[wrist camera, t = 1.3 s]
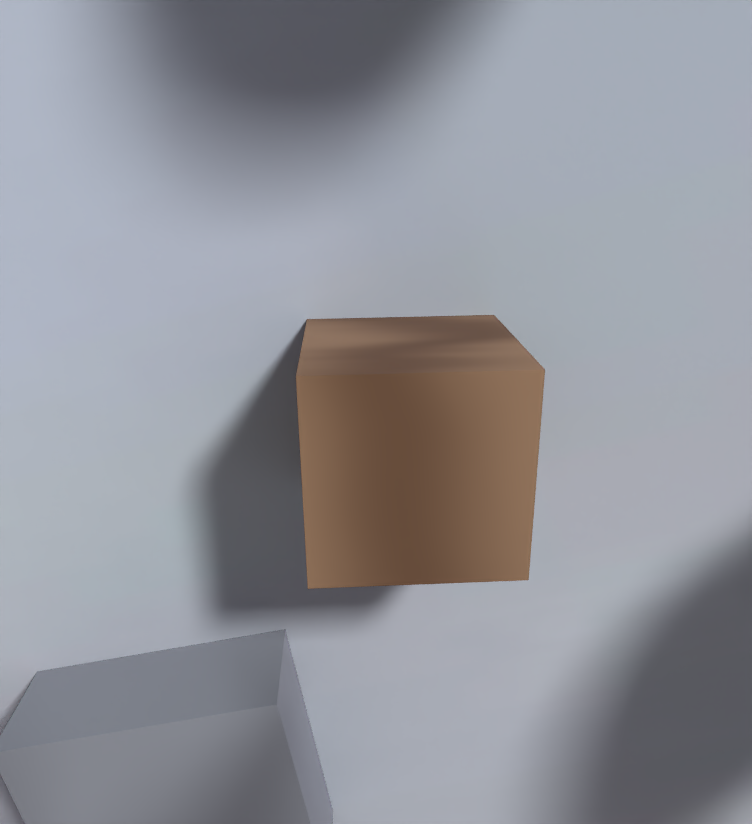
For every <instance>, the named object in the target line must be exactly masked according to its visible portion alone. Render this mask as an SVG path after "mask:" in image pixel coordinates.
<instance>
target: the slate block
mask: <svg viewBox="0 0 752 824" xmlns="http://www.w3.org/2000/svg"><path fill="white" fill-rule="evenodd" d="M0 775H1V777H2V779H3V781H4V783H5V785H6V787H7V789H8V791H9V793H10V795H11V797H12V799H13V801H14V803H15V805H16V807H17V809H18V811H19V813H20V815H21V817H22V819H23V821H24V823H25V824H333V808H332V805H331V801H330V797H329V793H328V789H327V786H326V782H325V778H324V774H323V771H322V767H321V763H320V759H319V755H318V752H317V748H316V744H315V740H314V736H313V733H312V729H311V725H310V721H309V717H308V714H307V710H306V706H305V702H304V699H303V695H302V691H301V687H300V683H299V680H298V676H297V672H296V668H295V664H294V661H293V657H292V653H291V649H290V645H289V642H288V638H287V634H286V630H285V629H284V630H279V631H273V632H267V633H261V634H255V635H249V636H243V637H238V638H232V639H226V640H220V641H214V642H208V643H202V644H196V645H191V646H185V647H179V648H173V649H167V650H161V651H155V652H150V653H144V654H138V655H132V656H126V657H120V658H114V659H109V660H103V661H97V662H91V663H85V664H79V665H73V666H68V667H62V668H56V669H50V670H44V671H38V672H37V673H36V675H35V677H34V678H33V680H32V682H31V683H30V685H29V687H28V689H27V690H26V692H25V694H24V696H23V697H22V699H21V701H20V702H19V704H18V706H17V708H16V709H15V711H14V713H13V715H12V716H11V718H10V720H9V721H8V723H7V725H6V727H5V728H4V730H3V732H2V734H1V735H0Z"/></svg>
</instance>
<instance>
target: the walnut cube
mask: <svg viewBox="0 0 752 824" xmlns="http://www.w3.org/2000/svg"><path fill="white" fill-rule="evenodd" d="M544 375H545V369H544V368H543V367H542V366H541V365H540V364H539V363H538V362H537V361H536V359H535V358H534V357H533V356H532V355H531V354H530V353H529V352H528V351H527V350H526V349H525V348H524V347H523V346H522V344H521V343H520V342H519V341H518V340H517V339H516V338H515V337H514V336H513V335H512V334H511V333H510V332H509V331H508V329H507V328H506V327H505V326H504V325H503V324H502V323H501V322H500V321H499V320H498V319H497V318H496V317H495V316H494V315H473V316H430V317H386V318H343V319H307V322H306V327H305V332H304V337H303V342H302V347H301V352H300V357H299V363H298V368H297V373H296V388H297V406H298V424H299V441H300V459H301V477H302V495H303V513H304V530H305V548H306V566H307V584H308V589H313V588H338V587H364V586H389V585H415V584H440V583H466V582H492V581H517V580H528V579H529V567H530V554H531V541H532V528H533V516H534V503H535V490H536V477H537V465H538V452H539V439H540V426H541V414H542V401H543V388H544Z"/></svg>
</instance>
